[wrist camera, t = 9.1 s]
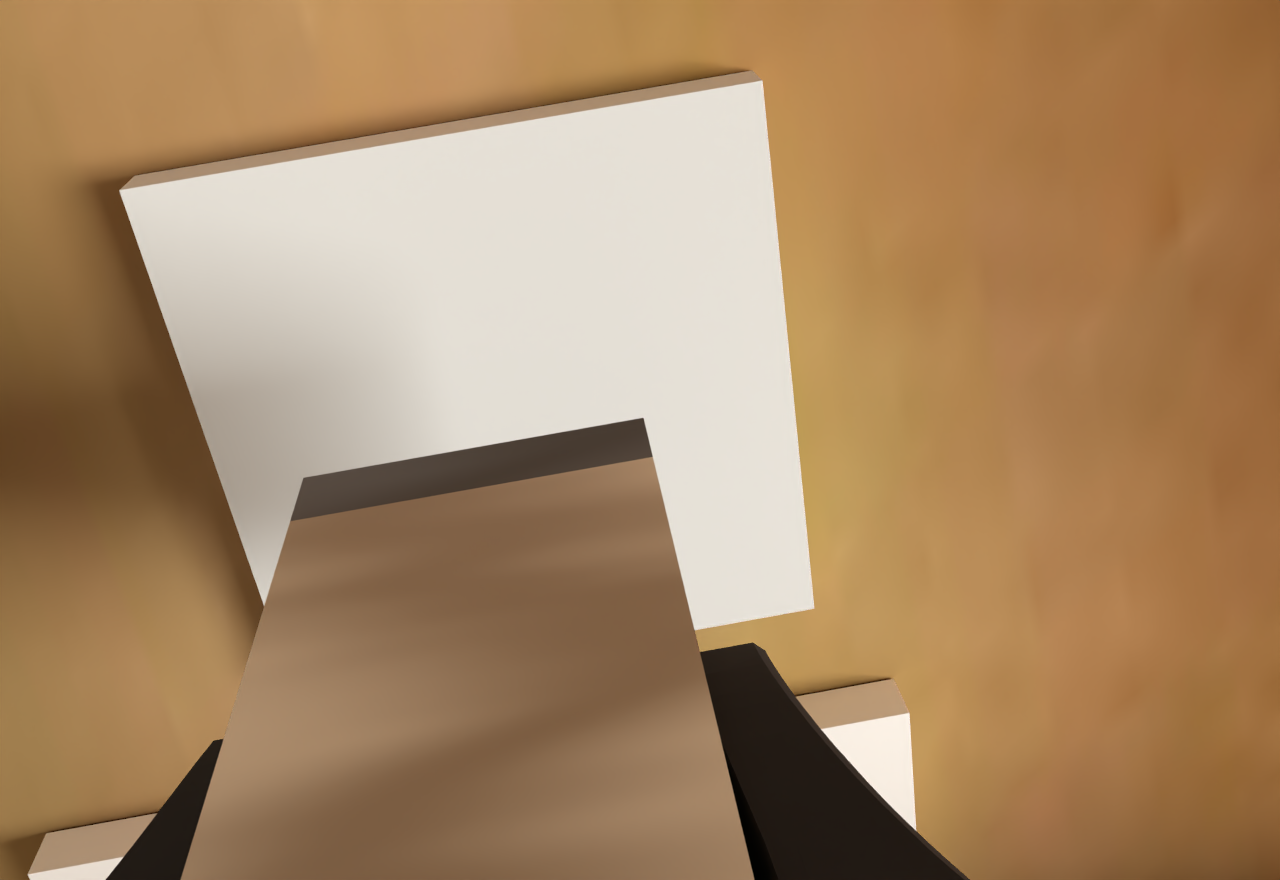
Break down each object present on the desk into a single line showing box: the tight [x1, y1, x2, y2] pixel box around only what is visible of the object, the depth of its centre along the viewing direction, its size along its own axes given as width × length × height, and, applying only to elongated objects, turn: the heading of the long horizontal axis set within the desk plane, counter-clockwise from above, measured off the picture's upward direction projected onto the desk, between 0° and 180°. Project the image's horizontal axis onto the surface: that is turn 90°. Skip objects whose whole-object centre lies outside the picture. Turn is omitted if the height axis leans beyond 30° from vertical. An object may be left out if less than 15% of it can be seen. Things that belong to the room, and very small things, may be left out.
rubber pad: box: [119, 71, 814, 630], centre depth 19 cm, size 9×9×1 cm
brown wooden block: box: [181, 418, 754, 880], centre depth 11 cm, size 4×4×9 cm
